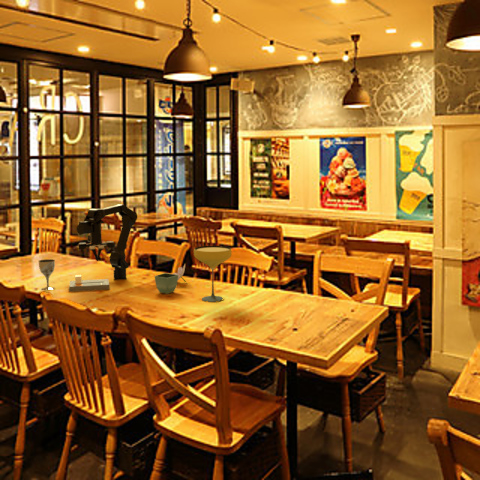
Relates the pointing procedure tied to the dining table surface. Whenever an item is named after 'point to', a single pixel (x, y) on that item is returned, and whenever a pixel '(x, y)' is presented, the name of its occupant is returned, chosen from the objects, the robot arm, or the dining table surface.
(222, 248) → the cocktail glass
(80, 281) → the fader
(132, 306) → the dining table surface
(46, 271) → the wine glass
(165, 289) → the flower pot
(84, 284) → the console
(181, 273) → the water lily
